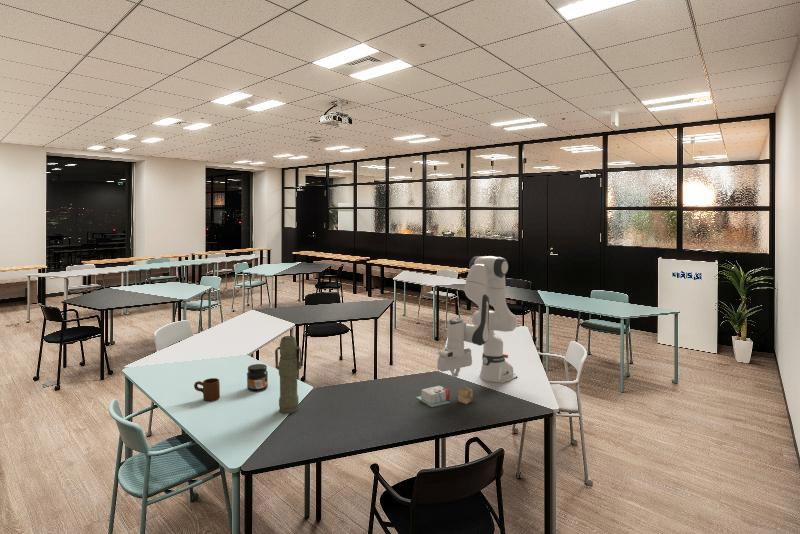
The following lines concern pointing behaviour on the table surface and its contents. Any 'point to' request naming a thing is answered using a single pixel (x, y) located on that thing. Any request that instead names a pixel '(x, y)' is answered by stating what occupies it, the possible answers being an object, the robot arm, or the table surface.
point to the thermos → (288, 374)
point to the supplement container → (257, 377)
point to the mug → (209, 389)
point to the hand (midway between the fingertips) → (454, 376)
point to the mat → (433, 403)
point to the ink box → (435, 394)
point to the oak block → (465, 395)
